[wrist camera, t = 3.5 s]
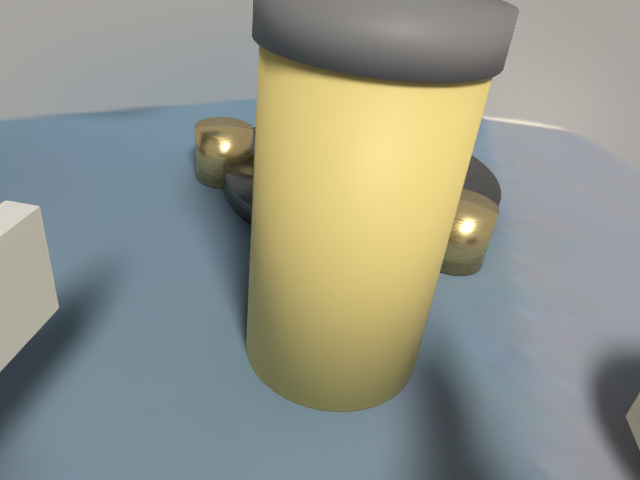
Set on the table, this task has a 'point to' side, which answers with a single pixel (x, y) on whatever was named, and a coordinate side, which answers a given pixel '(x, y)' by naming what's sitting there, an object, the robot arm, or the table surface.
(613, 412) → the table surface
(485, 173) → the tribrach
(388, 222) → the yellow battery cell
